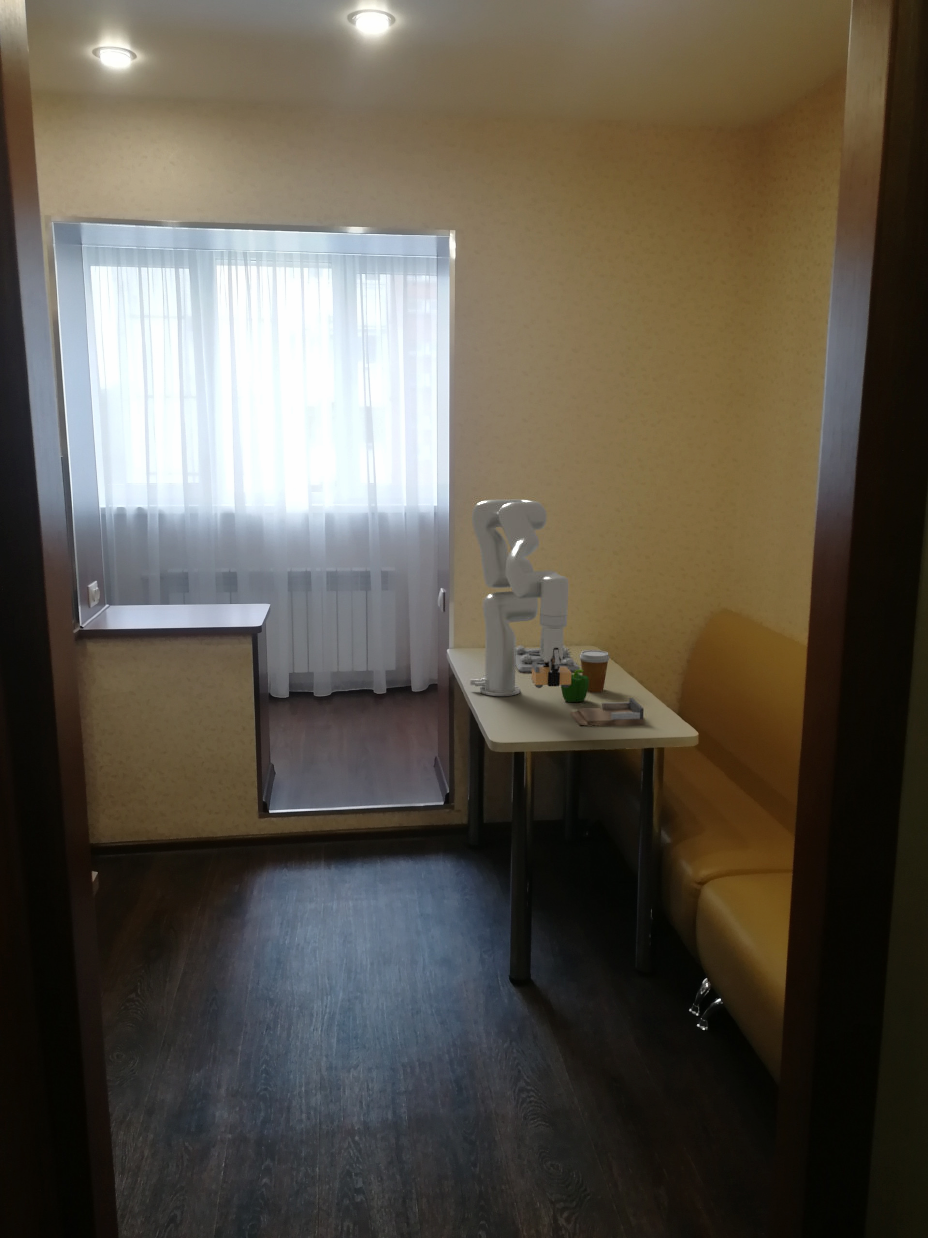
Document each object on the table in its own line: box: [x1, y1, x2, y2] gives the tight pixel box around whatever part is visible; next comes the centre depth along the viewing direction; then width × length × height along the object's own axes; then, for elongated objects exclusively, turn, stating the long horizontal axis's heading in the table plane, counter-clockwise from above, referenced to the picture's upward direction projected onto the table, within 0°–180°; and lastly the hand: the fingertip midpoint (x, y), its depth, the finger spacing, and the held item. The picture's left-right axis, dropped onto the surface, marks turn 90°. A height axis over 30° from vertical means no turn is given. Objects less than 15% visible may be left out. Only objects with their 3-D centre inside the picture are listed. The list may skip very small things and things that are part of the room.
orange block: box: [531, 662, 572, 689], centre depth 262 cm, size 10×6×6 cm, turn 96°
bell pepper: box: [560, 668, 589, 703], centre depth 284 cm, size 8×8×10 cm
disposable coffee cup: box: [579, 649, 610, 693], centre depth 296 cm, size 10×10×12 cm
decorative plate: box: [515, 644, 581, 674], centre depth 333 cm, size 30×22×7 cm
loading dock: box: [570, 697, 645, 727], centre depth 265 cm, size 18×12×4 cm, turn 96°
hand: (550, 682), depth 262 cm, fingers closed on orange block, 6 cm apart
